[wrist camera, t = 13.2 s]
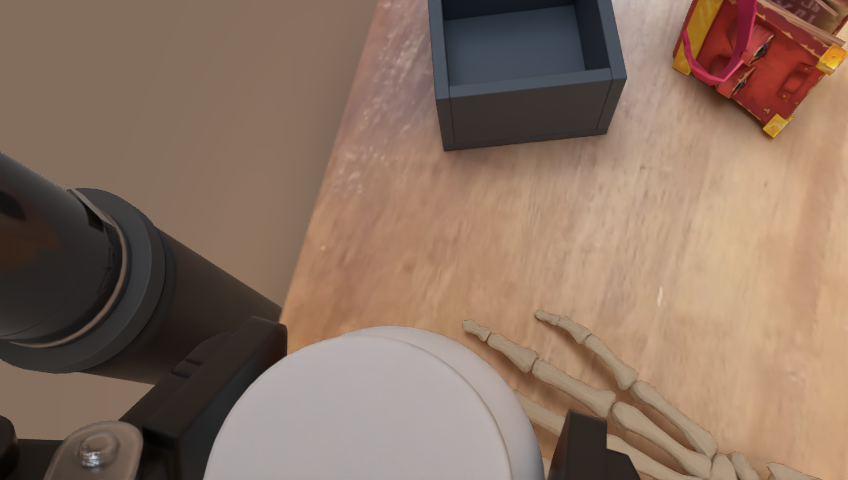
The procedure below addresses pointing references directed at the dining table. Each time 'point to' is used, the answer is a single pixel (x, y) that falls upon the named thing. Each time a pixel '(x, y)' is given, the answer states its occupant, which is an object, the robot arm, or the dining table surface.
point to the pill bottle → (378, 415)
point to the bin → (524, 70)
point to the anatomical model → (627, 412)
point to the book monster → (762, 51)
